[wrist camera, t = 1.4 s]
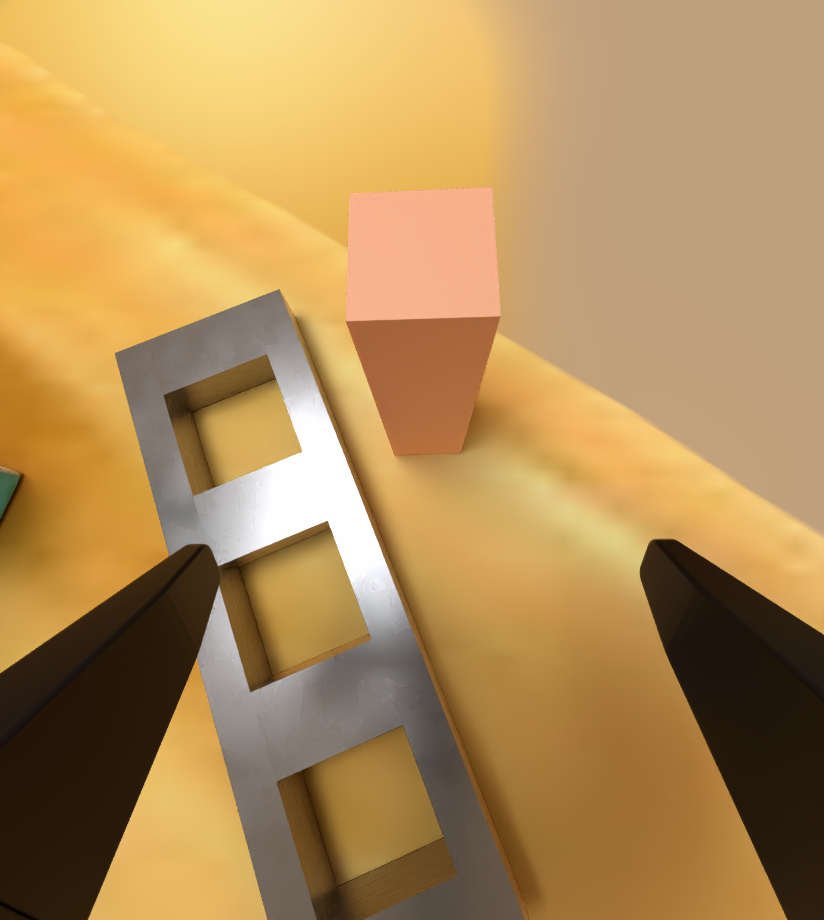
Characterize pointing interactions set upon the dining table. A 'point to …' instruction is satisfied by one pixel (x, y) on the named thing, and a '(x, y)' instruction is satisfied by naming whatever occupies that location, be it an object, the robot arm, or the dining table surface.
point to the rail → (326, 676)
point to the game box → (7, 486)
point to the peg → (423, 308)
